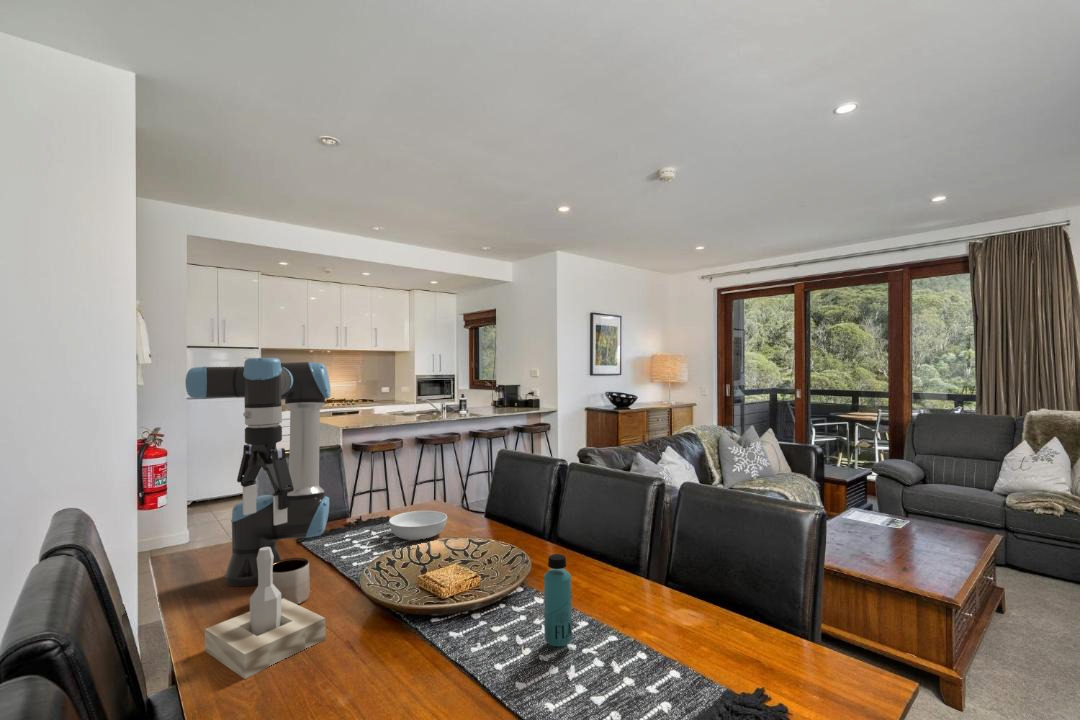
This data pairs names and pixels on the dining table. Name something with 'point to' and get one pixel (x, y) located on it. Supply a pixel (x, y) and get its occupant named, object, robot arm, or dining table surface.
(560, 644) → the beverage bottle
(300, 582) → the planter
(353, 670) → the dining table surface
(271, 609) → the low poly bottle
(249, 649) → the socket block
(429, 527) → the serving bowl
